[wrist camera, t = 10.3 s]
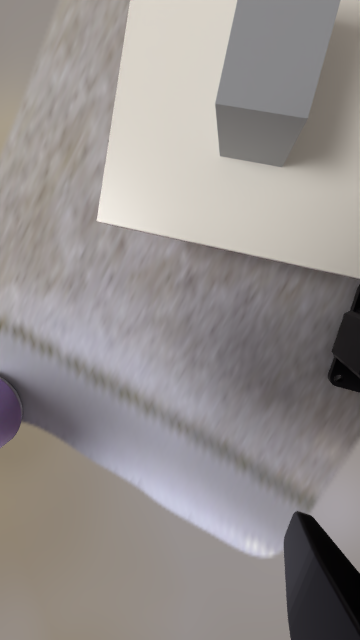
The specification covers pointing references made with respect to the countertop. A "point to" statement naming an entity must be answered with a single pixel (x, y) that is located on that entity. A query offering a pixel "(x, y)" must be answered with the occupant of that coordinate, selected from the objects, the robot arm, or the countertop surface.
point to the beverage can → (9, 412)
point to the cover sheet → (189, 140)
